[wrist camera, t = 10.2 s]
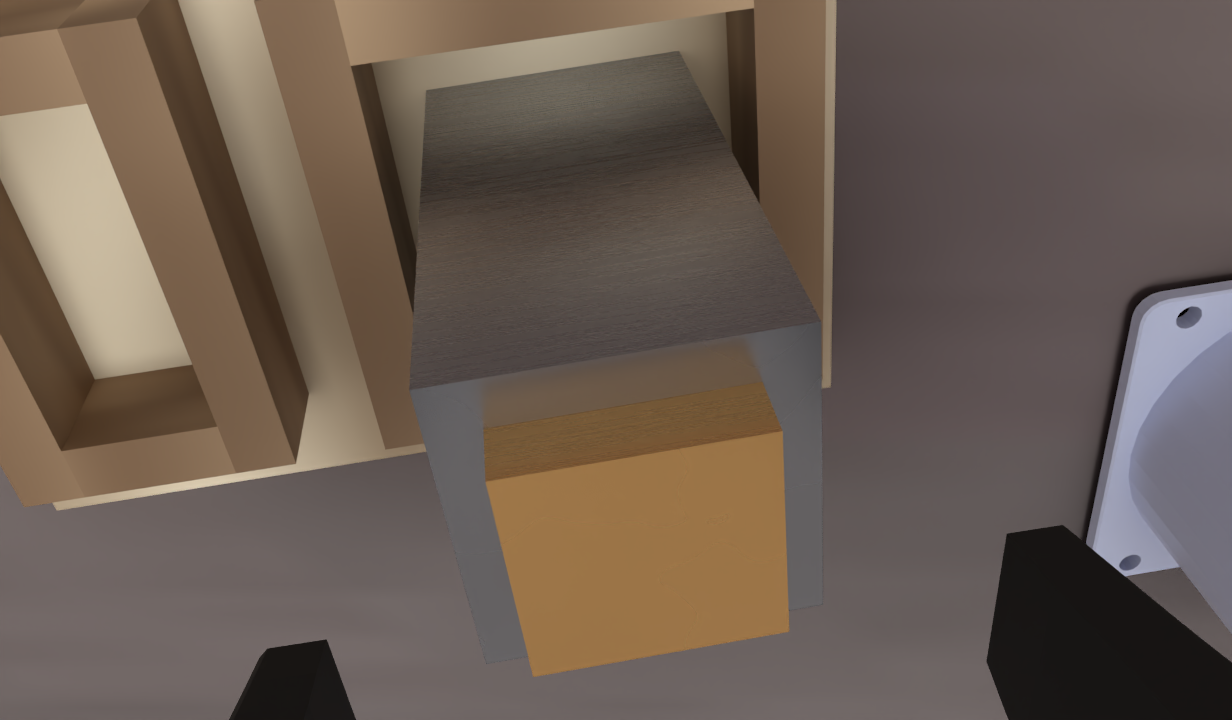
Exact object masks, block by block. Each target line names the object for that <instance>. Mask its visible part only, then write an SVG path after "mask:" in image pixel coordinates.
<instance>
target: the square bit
mask: <svg viewBox="0 0 1232 720" xmlns="http://www.w3.org/2000/svg"><path fill="white" fill-rule="evenodd" d="M409 391H410V395H411V398H412V402H413V406H414V409H415V413H416V416H417V420H418V423H419V427H420V430H421V434H422V438H423V441H424V445H425V448H426V452H427V455H428V459H429V462H430V466H431V470H432V473H433V477H434V480H435V484H436V487H437V491H438V494H439V498H440V502H441V505H442V509H443V512H444V516H445V519H446V523H447V527H448V530H449V534H450V537H451V541H452V544H453V548H454V551H455V555H456V559H457V562H458V566H459V569H460V573H461V576H462V580H463V583H464V587H465V591H466V594H467V598H468V601H469V605H470V608H471V612H472V615H473V619H474V623H475V626H476V630H477V633H478V637H479V640H480V644H481V647H482V651H483V655H484V658H485V662H486V664H490V663H495V662H501V661H507V660H512V659H518V658H524V657H529V662H530V666H531V670H532V674H533V677H536V676H542V675H547V674H553V673H558V672H564V671H570V670H575V669H581V668H587V667H592V666H598V665H604V664H609V663H615V662H621V661H626V660H632V659H638V658H643V657H649V656H654V655H660V654H666V653H671V652H677V651H683V650H688V649H694V648H700V647H705V646H711V645H717V644H722V643H728V642H734V641H739V640H745V639H750V638H756V637H762V636H767V635H773V634H779V633H784V632H789V611H790V610H796V609H801V608H807V607H813V606H818V605H823V517H822V355H821V320H820V318H819V316H818V314H817V313H816V311H815V309H814V307H813V305H812V303H811V301H810V299H809V297H808V295H807V294H806V292H805V290H804V288H803V286H802V284H801V282H800V280H799V278H798V276H797V274H796V273H795V271H794V269H793V267H792V265H791V263H790V261H789V259H788V257H787V255H786V254H785V252H784V250H783V248H782V246H781V244H780V242H779V240H778V238H777V236H776V235H775V233H774V231H773V229H772V227H771V225H770V223H769V221H768V219H767V217H766V216H765V214H764V212H763V210H762V208H761V206H760V204H759V202H758V200H757V198H756V196H755V195H754V193H753V191H752V189H751V187H750V185H749V183H748V181H747V179H746V177H745V176H744V174H743V172H742V170H741V168H740V166H739V164H738V162H737V160H736V158H735V157H734V155H733V153H732V151H731V149H730V147H729V145H728V143H727V141H726V139H725V138H724V136H723V134H722V132H721V130H720V128H719V126H718V124H717V122H716V120H715V118H714V117H713V115H712V113H711V111H710V109H709V107H708V105H707V103H706V101H705V99H704V98H703V96H702V94H701V92H700V90H699V88H698V86H697V84H696V82H695V80H694V79H693V77H692V75H691V73H690V71H689V69H688V67H687V65H686V63H685V61H684V59H683V58H682V56H681V54H680V52H679V51H674V52H668V53H661V54H655V55H649V56H642V57H636V58H629V59H623V60H617V61H610V62H604V63H597V64H591V65H585V66H578V67H572V68H565V69H559V70H553V71H546V72H540V73H533V74H527V75H521V76H514V77H508V78H501V79H495V80H489V81H482V82H476V83H469V84H463V85H457V86H450V87H444V88H437V89H431V90H426V101H425V118H424V136H423V154H422V172H421V189H420V207H419V225H418V243H417V261H416V278H415V296H414V314H413V332H412V349H411V367H410V385H409Z"/></svg>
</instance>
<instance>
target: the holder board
mask: <svg viewBox="0 0 1232 720" xmlns="http://www.w3.org/2000/svg"><path fill="white" fill-rule="evenodd" d="M674 51H679V52H680V54H681V56H682V58H683V59H684V61H685V63H686V65H687V67H688V69H689V71H690V73H691V75H692V77H693V79H694V80H695V82H696V84H697V86H698V88H699V90H700V92H701V94H702V96H703V98H704V99H705V101H706V103H707V105H708V107H709V109H710V111H711V113H712V115H713V117H714V118H715V120H716V122H717V124H718V126H719V128H720V130H721V132H722V134H723V136H724V138H725V139H726V141H727V143H728V145H729V147H730V149H731V151H732V153H733V155H734V157H735V158H736V160H737V162H738V164H739V166H740V168H741V170H742V172H743V174H744V176H745V177H746V179H747V181H748V183H749V185H750V187H751V189H752V191H753V193H754V195H755V196H756V198H757V200H758V202H759V204H760V206H761V208H762V210H763V212H764V214H765V216H766V217H767V219H768V221H769V223H770V225H771V227H772V229H773V231H774V233H775V235H776V236H777V238H778V240H779V242H780V244H781V246H782V248H783V250H784V252H785V254H786V255H787V257H788V259H789V261H790V263H791V265H792V267H793V269H794V271H795V273H796V274H797V276H798V278H799V280H800V282H801V284H802V286H803V288H804V290H805V292H806V294H807V295H808V297H809V299H810V301H811V303H812V305H813V307H814V309H815V311H816V313H817V314H818V316H819V318H820V320H821V355H822V388H829V387H831V344H832V274H833V204H834V133H835V63H836V0H0V465H1V467H2V469H3V471H4V472H5V474H6V476H7V478H8V479H9V481H10V483H11V485H12V487H13V488H14V490H15V492H16V494H17V495H18V497H19V499H20V501H21V502H22V504H23V506H24V507H28V506H35V505H41V504H47V503H53V504H54V506H55V508H56V510H63V509H69V508H76V507H82V506H88V505H95V504H101V503H107V502H113V501H120V500H126V499H132V498H138V497H145V496H151V495H157V494H164V493H170V492H176V491H182V490H189V489H195V488H201V487H207V486H214V485H220V484H226V483H233V482H239V481H245V480H251V479H258V478H264V477H270V476H277V475H283V474H289V473H295V472H302V471H308V470H314V469H320V468H327V467H333V466H339V465H346V464H352V463H358V462H364V461H371V460H377V459H383V458H389V457H396V456H402V455H408V454H415V453H421V452H426V448H425V445H424V441H423V438H422V434H421V430H420V427H419V423H418V420H417V416H416V413H415V409H414V406H413V402H412V398H411V395H410V391H409V385H410V367H411V349H412V332H413V314H414V296H415V278H416V261H417V243H418V225H419V207H420V189H421V172H422V154H423V136H424V118H425V101H426V90H431V89H437V88H444V87H450V86H457V85H463V84H469V83H476V82H482V81H489V80H495V79H501V78H508V77H514V76H521V75H527V74H533V73H540V72H546V71H553V70H559V69H565V68H572V67H578V66H585V65H591V64H597V63H604V62H610V61H617V60H623V59H629V58H636V57H642V56H649V55H655V54H661V53H668V52H674Z"/></svg>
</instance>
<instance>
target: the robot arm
mask: <svg viewBox="0 0 1232 720" xmlns="http://www.w3.org/2000/svg"><path fill="white" fill-rule="evenodd" d="M1189 307H1190V308H1189ZM1186 308H1189V310H1188V311H1187V312H1186V313H1185V314H1184V315H1183V316H1181V317H1178V315H1179V314H1180V313H1181V312H1182V311H1183V310H1184V309H1186ZM1177 317H1178V318H1177ZM1177 567H1180V568H1181V569H1182V570H1183V571H1184V573H1185V574H1186V575H1187V577H1188V578H1189V579H1190V581H1191V582H1192V583H1193V585H1194V586H1195V587H1196V588H1197V590H1198V591H1199V592H1200V594H1201V595H1202V596H1203V598H1204V599H1205V600H1206V601H1207V603H1208V604H1209V605H1210V607H1211V608H1212V609H1213V611H1214V612H1215V613H1216V614H1217V616H1218V617H1219V618H1220V620H1221V621H1222V622H1223V624H1224V625H1225V626H1226V627H1227V629H1228V630H1229V631H1230V633H1231V634H1232V280H1230V281H1224V282H1218V283H1211V284H1205V285H1199V286H1192V287H1186V288H1179V289H1173V290H1167V291H1160V292H1157V293H1154V294H1151V295H1150V296H1148V297H1146V298H1145V299H1143V300H1142V301H1141V302H1140V303H1139V305H1138V306H1137V307H1136V308H1135V311H1134V313H1133V315H1132V320H1131V325H1130V330H1129V334H1128V339H1127V344H1126V349H1125V354H1124V359H1123V364H1122V369H1121V374H1120V378H1119V383H1118V388H1117V393H1116V398H1115V403H1114V408H1113V413H1112V418H1111V423H1110V427H1109V432H1108V437H1107V442H1106V447H1105V452H1104V457H1103V462H1102V467H1101V471H1100V476H1099V481H1098V486H1097V491H1096V496H1095V501H1094V506H1093V511H1092V515H1091V520H1090V525H1089V530H1088V535H1087V540H1086V544H1085V543H1084V542H1083V541H1082V540H1080V539H1079V538H1078V537H1077V536H1076V535H1074V534H1073V533H1072V532H1071V531H1069V530H1068V529H1067V528H1066V527H1065V526H1063V525H1060V526H1054V527H1047V528H1041V529H1034V530H1028V531H1022V532H1015V533H1009V534H1007V536H1006V543H1005V549H1004V555H1003V561H1002V568H1001V574H1000V580H999V587H998V593H997V599H996V605H995V612H994V618H993V624H992V631H991V637H990V643H989V649H988V656H987V664H988V666H989V669H990V672H991V674H992V677H993V680H994V682H995V685H996V688H997V691H998V693H999V696H1000V699H1001V701H1002V704H1003V707H1004V709H1005V712H1006V714H1007V717H1008V719H1009V720H1232V662H1231V661H1229V660H1228V659H1227V658H1225V657H1224V656H1223V655H1221V654H1220V653H1219V652H1218V651H1216V650H1215V649H1214V648H1212V647H1211V646H1210V645H1209V644H1207V643H1206V642H1205V641H1204V640H1202V639H1201V638H1200V637H1199V636H1197V635H1196V634H1195V633H1194V632H1192V631H1191V630H1190V629H1189V628H1187V627H1186V626H1185V625H1184V624H1182V623H1181V622H1180V621H1179V620H1177V619H1176V618H1175V617H1174V616H1173V615H1171V614H1170V613H1169V612H1168V611H1166V610H1165V609H1164V608H1163V607H1162V606H1160V605H1159V604H1158V603H1157V602H1155V601H1154V600H1153V599H1152V598H1151V597H1149V596H1148V595H1147V594H1146V593H1144V592H1143V591H1142V590H1141V589H1140V588H1138V587H1137V586H1136V585H1135V584H1134V583H1132V582H1131V581H1130V580H1129V579H1128V578H1126V577H1125V576H1129V575H1135V574H1141V573H1147V572H1153V571H1159V570H1165V569H1171V568H1177ZM229 720H356V719H355V716H354V713H353V710H352V708H351V705H350V702H349V700H348V697H347V694H346V691H345V689H344V686H343V683H342V680H341V678H340V675H339V672H338V669H337V667H336V664H335V661H334V658H333V656H332V653H331V650H330V647H329V645H328V642H327V640H320V641H314V642H307V643H301V644H294V645H288V646H282V647H275V648H269V649H267V650H266V651H265V652H264V653H263V654H262V656H261V657H260V658H259V660H258V662H257V664H256V666H255V668H254V670H253V672H252V674H251V676H250V679H249V681H248V683H247V685H246V687H245V689H244V691H243V693H242V695H241V697H240V699H239V701H238V703H237V705H236V707H235V709H234V711H233V713H232V715H231V717H230V719H229Z"/></svg>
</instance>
